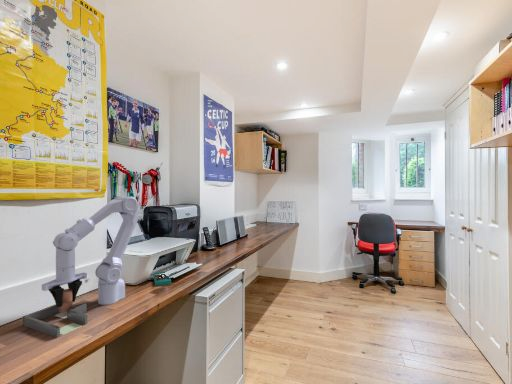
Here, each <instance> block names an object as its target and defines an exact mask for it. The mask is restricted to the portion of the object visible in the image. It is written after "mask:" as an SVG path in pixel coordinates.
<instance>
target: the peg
mask: <svg viewBox="0 0 512 384" xmlns="http://www.w3.org/2000/svg"><path fill="white" fill-rule="evenodd" d="M70 309H73V302H72V289H69V288H64V291H63V296H62V307H59V312H58V313H64V312H67V311H68V310H70Z"/></svg>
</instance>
